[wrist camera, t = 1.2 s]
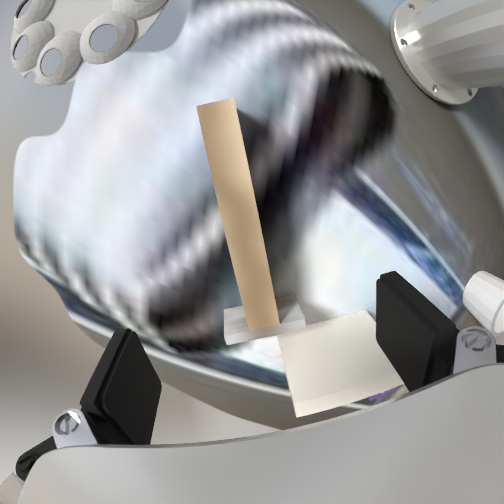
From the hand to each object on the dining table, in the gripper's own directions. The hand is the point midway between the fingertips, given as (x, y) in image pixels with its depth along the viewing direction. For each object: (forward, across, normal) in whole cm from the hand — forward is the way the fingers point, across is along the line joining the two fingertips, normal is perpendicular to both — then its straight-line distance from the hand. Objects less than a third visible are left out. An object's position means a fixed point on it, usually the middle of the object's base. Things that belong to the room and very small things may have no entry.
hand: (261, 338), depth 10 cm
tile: (+16, -6, +13) cm, 22 cm away
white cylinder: (+17, -29, +15) cm, 37 cm away
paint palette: (+17, +11, -27) cm, 34 cm away
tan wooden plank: (+16, 0, -1) cm, 16 cm away
